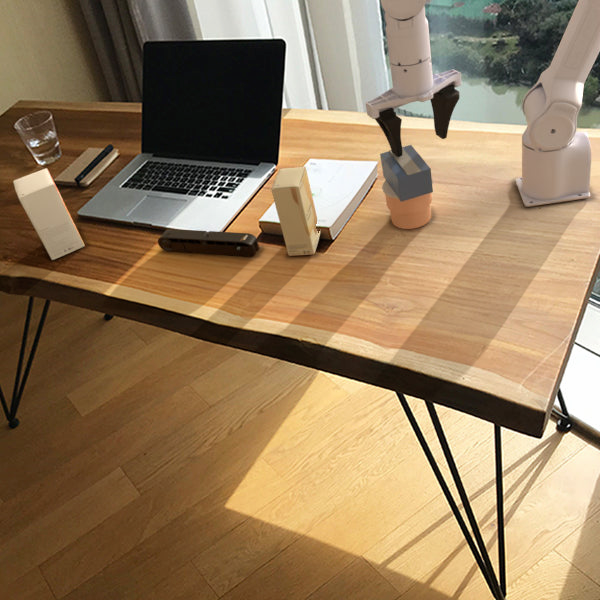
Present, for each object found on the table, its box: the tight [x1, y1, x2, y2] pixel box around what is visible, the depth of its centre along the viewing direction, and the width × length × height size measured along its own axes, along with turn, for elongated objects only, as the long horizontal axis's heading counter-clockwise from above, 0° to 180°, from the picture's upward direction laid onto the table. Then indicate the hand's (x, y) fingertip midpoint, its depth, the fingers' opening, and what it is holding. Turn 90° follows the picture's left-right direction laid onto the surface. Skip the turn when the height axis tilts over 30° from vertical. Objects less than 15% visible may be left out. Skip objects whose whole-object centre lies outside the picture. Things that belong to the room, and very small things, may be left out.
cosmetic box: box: [270, 166, 321, 257], centre depth 104 cm, size 6×4×12 cm
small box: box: [13, 167, 86, 261], centre depth 119 cm, size 8×6×13 cm
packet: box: [379, 144, 434, 202], centre depth 102 cm, size 8×5×4 cm, turn 12°
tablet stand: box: [157, 228, 260, 257], centre depth 111 cm, size 18×3×3 cm, turn 68°
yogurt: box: [381, 180, 433, 230], centre depth 105 cm, size 8×8×6 cm
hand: (419, 145), depth 103 cm, fingers open, 7 cm apart
